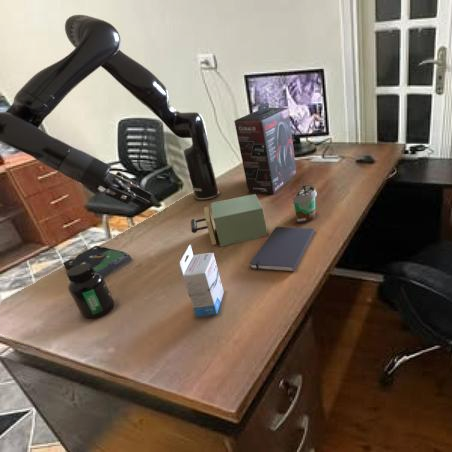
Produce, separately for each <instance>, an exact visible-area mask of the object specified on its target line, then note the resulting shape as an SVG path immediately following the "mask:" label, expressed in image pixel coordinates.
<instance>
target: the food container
mask: <svg viewBox="0 0 452 452" xmlns="http://www.w3.org/2000/svg"><path fill="white" fill-rule="evenodd" d="M317 196H318V193H317V190H316V188H315V186H313V185H311V184H308V183H302V187H301V188H300V189H299V190H298V192H297V193H296V196H292V198H293V199H292V202H293V203H292V204H293V205H294V211H295V217H296V224H304V223H308V222H311V221H313V220H315V218H316V197H317Z"/></svg>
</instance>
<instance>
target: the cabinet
mask: <svg viewBox="0 0 452 452" xmlns="http://www.w3.org/2000/svg"><path fill="white" fill-rule="evenodd" d="M210 208H211V213H212V219H213V222H214V223H213V224H214V227H215V231H216V234H217V239H218V242H219V246H220V247H224V246H229V245H232V244H238V243H241V242H245V241H251V240H254V239H258V238H262V237H267V236H268V229H267V224H266V219H265V214H264V208H263V206H262V204H261V202H260V200H259V198H258V196H257V193H252V194H248V195H244V196H238V197H234V198H233V197H232V198H228V199H224V200H219V201H213V202H210Z"/></svg>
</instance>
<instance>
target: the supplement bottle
mask: <svg viewBox="0 0 452 452" xmlns="http://www.w3.org/2000/svg"><path fill="white" fill-rule="evenodd" d="M66 276H67V278H68V281H69V284H68V286H67V290H68V293H69V294H70V296H71V297H72V299H73V301H74V303H75V304H76V308H77V309H78V310H79V313H80V314H81V316H82V317H83V319H86V320H89V321H90V320H97V319H100V318H102V317H105V316H107V315H108V314H109V313H111V312H112V311H113V309H114V308H115V305H116V303H115V300H114V298H113V296H112V294H111V291H110V288H109V287H108V284H107V283H106V281H105V279H104V278H105V277H103V276H102V275H101V274H99V273H96V272H95V271H94V269H93V267H92V265H91V264H81V265H77V266H75V267H73V268H71V269H70V270H67V272H66Z"/></svg>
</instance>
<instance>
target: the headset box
mask: <svg viewBox="0 0 452 452" xmlns="http://www.w3.org/2000/svg"><path fill="white" fill-rule="evenodd" d="M290 118H291V117H290V111H289V107H273V106H270V105H269V102H268V101H267V102H265V103H262V104H260V105H258V106H257V110H256V111H253V112H251V113H248V114H246V115H244V116H242V117H239V118H237V119H235V120H234V121H233V122H234V126H235V131H236V136H237V142H238V146H239V147H238V148H239V153H240V157H241V162H242V166H243V172H244V177H245V181H246V187H247V192H248V193H249V194H261V195H263V194H264V195H275V194H276V193H277V192H278V191H279V190H280V189H281V188H282V187H284V186H285V185H286V184H287V183H288V182H289V181H290V180H291V179H292V178H293V177H295V176H296V175H297V165H296V157H295V149H294V143H293V135H292V128H291V120H290Z"/></svg>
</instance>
